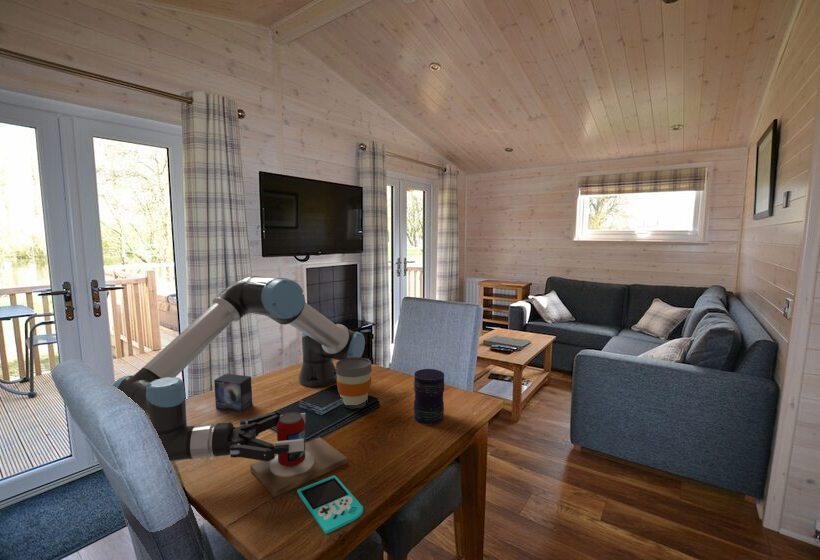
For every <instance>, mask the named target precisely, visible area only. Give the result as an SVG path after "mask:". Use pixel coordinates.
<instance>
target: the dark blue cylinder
mask: <svg viewBox="0 0 820 560" xmlns="http://www.w3.org/2000/svg"><path fill="white" fill-rule="evenodd" d="M413 376H414V378H413V379H414V382H413V385H414V386H413V389H414V402H413V403H414V404H413V414H414V415H413V420H414V421H415V422H416V423H418V424H420V425H423V426H435V425H439V424H441V423H442V422H443V421H444V412H445V407H444V406H445V405H444V402H445V401H444V392H445V372H443V371H442V370H439V369H435V368H423V369H419V370H416V371H415V372H414V375H413Z"/></svg>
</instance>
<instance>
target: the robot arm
mask: <svg viewBox="0 0 820 560" xmlns="http://www.w3.org/2000/svg"><path fill="white" fill-rule="evenodd" d="M303 292H304V290H303V287H301V285H300V284H299V283H298V282H296V281H294V280H292V279H289V278H286V277H270V276H269V277H267V276H259V275H250V276H246V277H243V278H241V279H239V280H237V281H235V282H233V283H232V284H231V285H229V286H227V287H226V288H225V289H223V290H222V291H221V292H220V293H219V294H217V295H216V296H215V297H214V298H213V299H212V305H211V306H209V307H208V308H207V309H206V310H205V311H204V312H203V313H201V314H200V315H199V316H198V317H197V318H196V319H195V320H194V321H193V322H192V323H190V324H189V325H188V326H187V327H186V328H185V329H184V330H183V331H182V332H181V333H179V334H178V335H177V336H176V337H175V338H174V339H172V341H170V342H169V343H168V344H167V345H166V346H165V347H163V348H162V349H161V351H159V352H158V353H157V354H155V356H153V358H152V359H150V360H149V361H147V363H146V364H145V365H143V367H142V368H140V369H139V370H138V371H137V372H136V373H135V374H133V375H129V374H128V375H125V376H122V377H119V378H118V379H117V380H115V381H114V383H113V384H112V385H113V386H115V387H117V388H118V389H120V390H121V391H123V392H124V393H125V394H126V395H127V396H128V397H130V398H131V399H132V400H133V401H134V402H135V403H137V404H138V405H139V406H140V407H141V408H142V409H143V410H144V411H145V413H146V415H147V416H148V417H149V418H148V417H147V416H146V417H147V418H148V420H149V419H150V420H151V422H152V424H153V426H154V428H155V429H156V431H157V433H158V435H159V438H160V439H161V441H162V444H163V446H164V448H165V450H166V452H167V454H168V457H169V460H170V461H171V462H178V461H184V460H185V461H186V460H194V459H203V460H204V458H212V456H214V457H224V456H225V457H226V456H229V455H230V458H244V459H249V460H256V461H270V460H273V459H274V458H275V455H276V454H281V453H289V452H298V451H304V439H295V440H286V441H274V443H271V442H268V441H264V440H261V439H259V438H257V437H258V436H259V435H260V434H261V433H263V432H265V431H268V430H269V429H272V428H274V427H277V423H278V421H279V419H280V417H281V416H282V415H283V414H281V412H280V411H278V410H276V411H275V410H274V411H271V412H269V413H266V414H262V415H259V416H255V417H252V418H248V419H242V420H239V424H240V425H239V426H237V427H235V426H234V424H233V423H232V422H230V421H228V422H219V423H217V424H214V423H208V424H207V423H205V424H198V425H187V423H188V422H187V411H186V410H187V409H186V408H187V407H186V405H187V404H186V391H185V386H184V381H183V380H182V379H181V378H180V377H177V376H179V375H180V373H181V372H182V371H184V370H185V368H186V367H187V366H189V365H190V364H191V362H193V361H194V360H195V359H196V357H198V356H199V355H200V354H201V353H202V352H203V351H204V350H205V349H206V348H207V347H208V346H209V345H210V344H212V342H214V340H215V339H217V337H219V335H221V333H223V332H224V331H225V330H226V329H227V327H229V326H230V325H231V324H232V323H235V322H236V323H237V322H239V321H240V320H241V319H242V318H243V317H245V316H246V315H250V314H254V315H259V316H265V317H268V318H269V319H270V320H273V321H275V322H276V323H277V324H280V325H282V326H283V325H284V326H285V325H290V326H292V327H293V328H295V329H297V330H298V331H300V332H301V335H302V336H301V344H302V346H301V347H302V365H301V367H300V372H299V375H298V382H299V384H300V385H301V386H305V387H309V388H310V387H312V388H313V387H315V388H317V387H325V386H328V385H333V383H335V382H337V373H336V365H335V364H334V361H333V360H336V361H339V360H342V359H345V358H351V357H360V358H362V356H363V354H364V351H365V348H366V347H365V345H366V341H365V336H364V334H363V333H362V332H359V331H353V330H351V329H349V328H348V327H347V326H345V325H343V324H341V323H336V324H335V323H334V322H333V321H331V320H330V319H329V318H327V316H325V315H323V314H322V313H321V312H319V311H318V310H317V309H315V308H314V307H312V306H311V305H310V304H309V303H307V302H306V298H305V294H303ZM299 413H300V412H299ZM300 414H301V415H302V418H303V419H304V421H305V422H306V412H301V413H300Z"/></svg>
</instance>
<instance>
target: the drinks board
mask: <svg viewBox="0 0 820 560" xmlns="http://www.w3.org/2000/svg"><path fill="white" fill-rule="evenodd" d="M347 463H348V457H347V456H346V455H345V454H343V453H341V452H340V451H339V450H338V449H336V448H335V447H333V446H332V445H331V444H330V443H328V442H327V441H325V440H324V439H323V438H322V437H320V436H319V437H317V438H315V439H314V438H313V439H311V440H309V441H305V459H304V461H303V462H301V463H300V464H298V465H296V466H293V467H286V466H283V465H281V464H280V463H279V462H278V454H275V458H274V459H273V460H270V461H261V460H258V461H256V462H254V463H251V464H250V471H251V473H252V474H253V475H255V477H256V478H257V479H258V481H260V482H261V484H262V485H263V486H264V487H265V488H266V490H267V491H268V492H269V493H270V494H271V496H273V497H274V498H276V497H278V496H282V494H285V493H287V492H290V491H291V490H293V489H296V488H297V487H299V486H302V485H304V484H305V483H306V484H307V483H308V482H310V481H312V480H314V479H316V478H318V477H321V476H323V475H325V474H326V473H329V472H331V471H333V470H335V469H338V468H340V467H341V466H344V465H346V464H347Z"/></svg>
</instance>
